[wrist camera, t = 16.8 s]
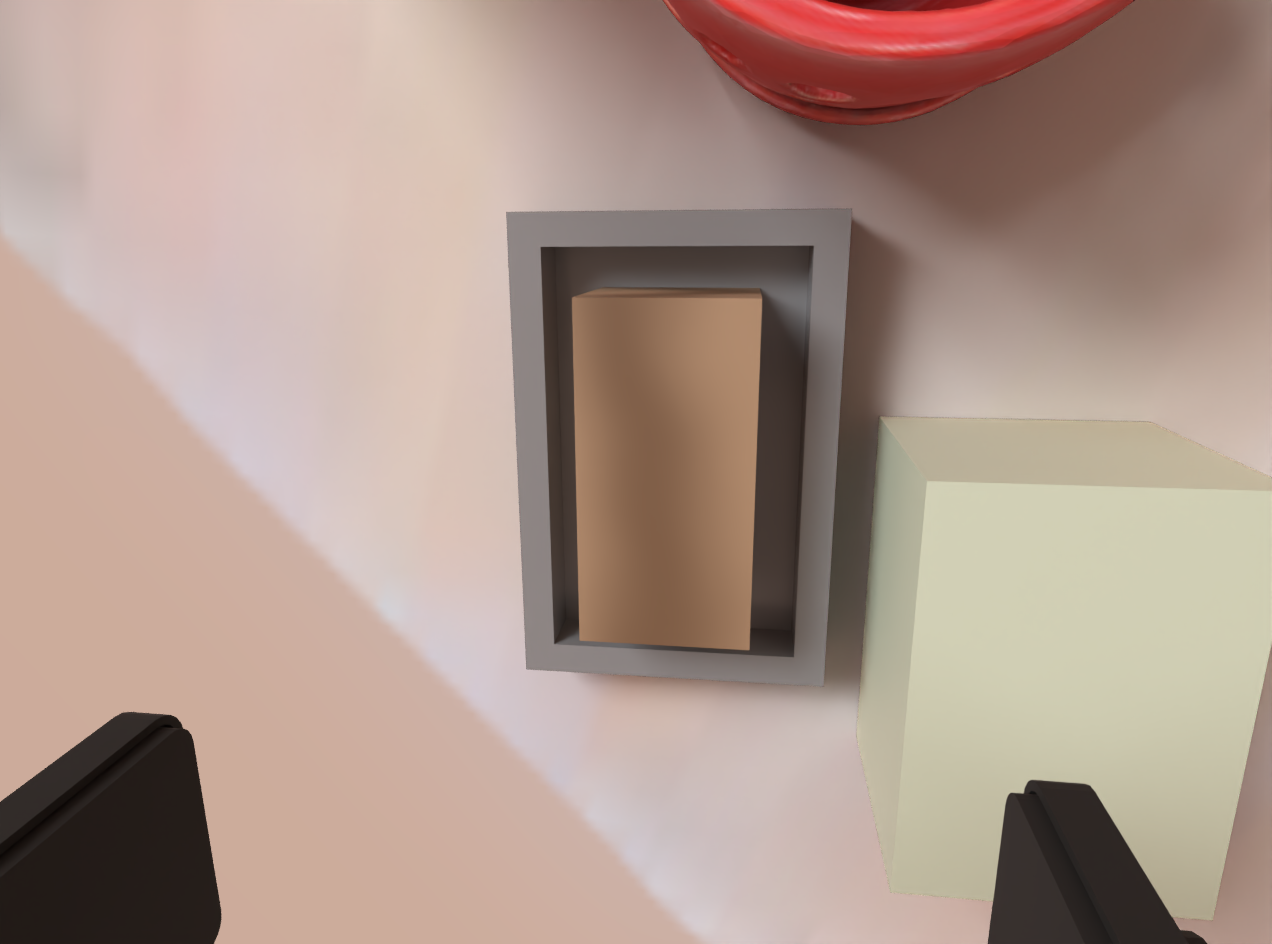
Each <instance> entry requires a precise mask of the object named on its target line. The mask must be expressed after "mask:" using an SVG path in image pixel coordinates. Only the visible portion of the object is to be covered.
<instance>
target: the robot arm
mask: <svg viewBox="0 0 1272 944" xmlns="http://www.w3.org/2000/svg"><path fill="white" fill-rule="evenodd" d="M220 924H221V907H220V901H219V895H218V889H217V883H216V877H215V871H214V864H213V858H212V853H211V846H210V841H209V834H208V828H207V822H206V816H205V809H204V804H203V798H202V792H201V785H200V779H199V773H198V767H197V762H196V755H195V748H194V743H193V739H192V736H191V734H190V733H189V731H188V730H185V729H183V727H182V724H181V722H179V720H178V719H177V718H176V717H174V716H172V715H163V714H149V713H136V712H126V713H121V714H119V715H118V716H116V717H114V718H113V719H111V720H110V721H109V722H107V723H106V724H105V725H103V726H102V727H101V728H99V729H98V730H97V731H95V732H94V733H92V734H91V735H90V736H88V737H87V738H86V739H84V740H83V741H82V742H80V743H79V744H78V745H76V746H75V747H74V748H72V749H71V750H70V751H68V752H67V753H65V754H64V755H63V756H62V757H60V758H59V759H57V760H56V761H55V762H53V763H52V764H51V765H49V766H48V767H47V768H45V769H44V770H43V771H41V772H40V773H38V774H37V775H36V776H35V777H33V778H32V779H30V780H29V781H28V782H26V783H25V784H24V785H22V786H21V787H20V788H18V789H17V790H16V791H14V792H13V793H12V794H10V795H9V796H7V797H6V798H5V799H3V800H2V801H1V802H0V944H214V942H215V939H216V937H217V935H218V932H219V929H220ZM988 944H1207V943H1206V942H1205V940H1204V939H1203V938H1202V937H1200V936H1198V935H1197V934H1195V933H1194V932H1192V931H1183V930H1180V929H1179V928H1178V926H1177V925H1176V923H1175V921H1174V920H1173V918H1172V916H1171V915H1170V913H1169V911H1168V910H1167V908H1166V907H1165V905H1164V903H1163V902H1162V900H1161V898H1160V897H1159V895H1158V894H1157V892H1156V890H1155V889H1154V887H1153V885H1152V884H1151V882H1150V880H1149V879H1148V877H1147V876H1146V874H1145V872H1144V871H1143V869H1142V867H1141V866H1140V864H1139V862H1138V861H1137V859H1136V858H1135V856H1134V854H1133V853H1132V851H1131V849H1130V848H1129V846H1128V845H1127V843H1126V841H1125V840H1124V838H1123V836H1122V835H1121V833H1120V831H1119V830H1118V828H1117V827H1116V825H1115V823H1114V822H1113V820H1112V818H1111V817H1110V815H1109V813H1108V812H1107V810H1106V809H1105V807H1104V805H1103V804H1102V802H1101V800H1100V799H1099V797H1098V796H1097V794H1096V792H1095V791H1094V790H1093V789H1092V787H1091V786H1090V785H1087V784H1083V783H1070V782H1056V781H1043V780H1030V781H1028V782H1027V784H1026V786H1025V789H1024V793H1010V794H1009V795H1008V797H1007V799H1006V804H1005V812H1004V819H1003V827H1002V835H1001V843H1000V851H999V859H998V867H997V875H996V883H995V890H994V898H993V906H992V914H991V922H990V930H989V938H988Z"/></svg>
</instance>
